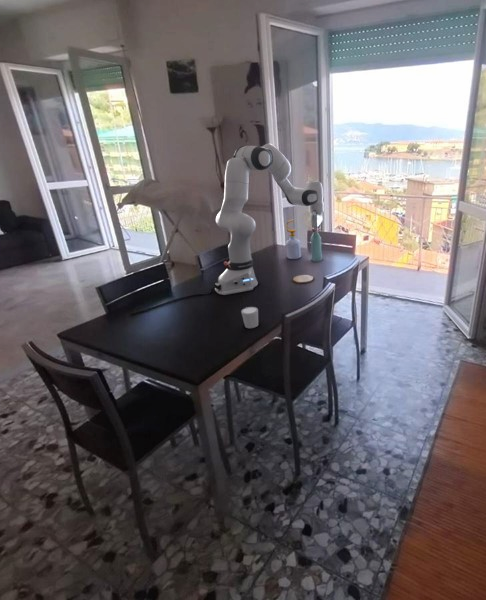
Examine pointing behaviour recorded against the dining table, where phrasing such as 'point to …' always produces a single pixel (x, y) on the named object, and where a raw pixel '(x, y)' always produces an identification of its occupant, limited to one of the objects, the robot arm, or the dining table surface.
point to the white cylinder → (250, 317)
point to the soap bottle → (293, 245)
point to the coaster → (303, 279)
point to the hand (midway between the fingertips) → (317, 231)
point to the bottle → (316, 247)
